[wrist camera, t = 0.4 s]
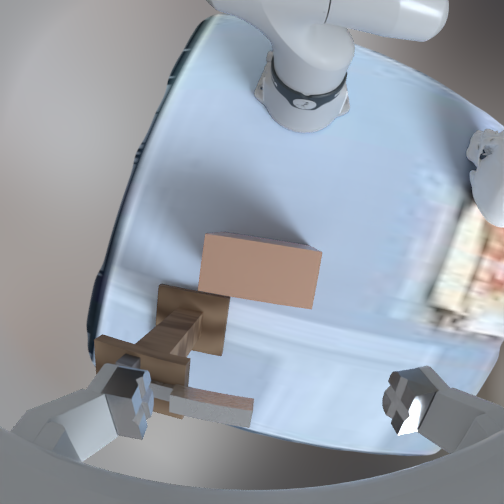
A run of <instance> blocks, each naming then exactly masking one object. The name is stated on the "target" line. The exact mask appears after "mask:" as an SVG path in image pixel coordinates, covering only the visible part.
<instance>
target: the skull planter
mask: <svg viewBox="0 0 504 504" xmlns="http://www.w3.org/2000/svg"><path fill="white" fill-rule="evenodd" d="M483 149H484V151H485V153H484V154H482V153H483ZM481 154H482V155H487V156H486V157H485V158H484V159H480V155H481ZM466 156H467V158H468V159H469V160H470V161H472V162H473V163H474V164H475V165H476V166H477V169H476V170H477V171H475V170H471V171H470V182H471V185H472V194H473V197H474V200H475V202H476V204H477V206H478V209H479V210H480V212H481V214H482V215H483V216H484V218H485V219H486V220H487V221H488V222H489V223H491V224H493V225H495V226H497V227H504V130H503V132H500V133H498V131H496V132H495V131H493V130H491V129H485V130H484V131H480V130H477V131H476V132H475V133H474V134H473V136H472V138H471V140H470V144H469V147H468V149H467V150H466Z"/></svg>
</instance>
